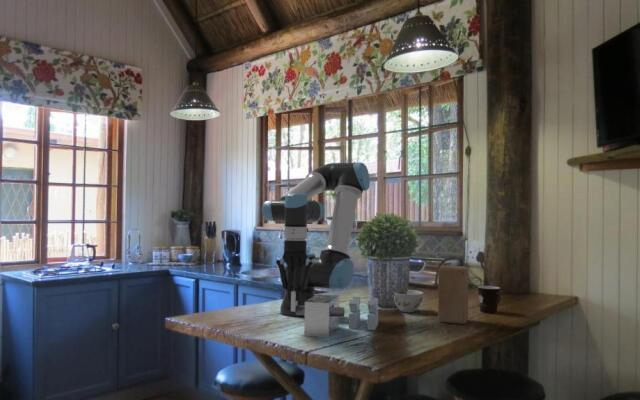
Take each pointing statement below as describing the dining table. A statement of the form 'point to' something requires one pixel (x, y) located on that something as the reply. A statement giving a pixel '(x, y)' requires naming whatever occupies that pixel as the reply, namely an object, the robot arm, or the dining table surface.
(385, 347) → the dining table surface
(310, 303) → the grey box
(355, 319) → the v stand
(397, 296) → the teacup
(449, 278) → the wooden block
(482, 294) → the coffee mug
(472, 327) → the dining table surface
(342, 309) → the axle
